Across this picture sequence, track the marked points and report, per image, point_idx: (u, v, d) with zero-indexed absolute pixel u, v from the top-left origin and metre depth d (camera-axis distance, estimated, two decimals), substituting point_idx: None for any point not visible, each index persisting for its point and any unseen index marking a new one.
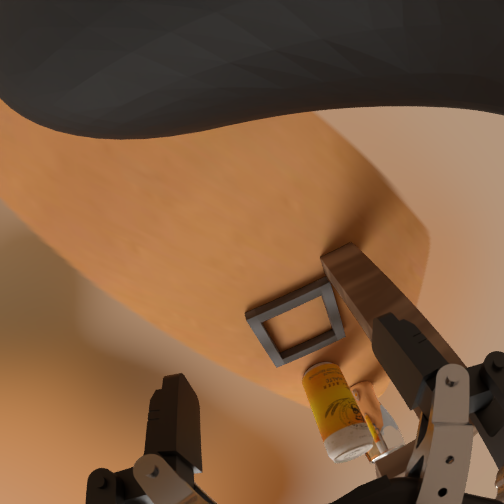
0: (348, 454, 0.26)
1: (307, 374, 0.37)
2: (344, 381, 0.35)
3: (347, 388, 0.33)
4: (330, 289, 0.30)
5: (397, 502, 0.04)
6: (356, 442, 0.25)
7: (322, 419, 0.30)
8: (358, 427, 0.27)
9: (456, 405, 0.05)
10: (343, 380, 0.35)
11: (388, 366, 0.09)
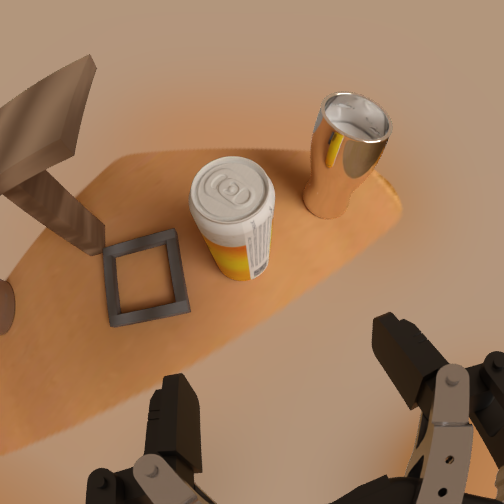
0: (223, 198, 0.18)
1: (223, 273, 0.31)
2: None
3: None
4: (109, 247, 0.32)
5: (397, 502, 0.04)
6: (190, 192, 0.19)
7: (214, 251, 0.23)
8: None
9: (456, 405, 0.05)
10: None
11: (388, 366, 0.09)
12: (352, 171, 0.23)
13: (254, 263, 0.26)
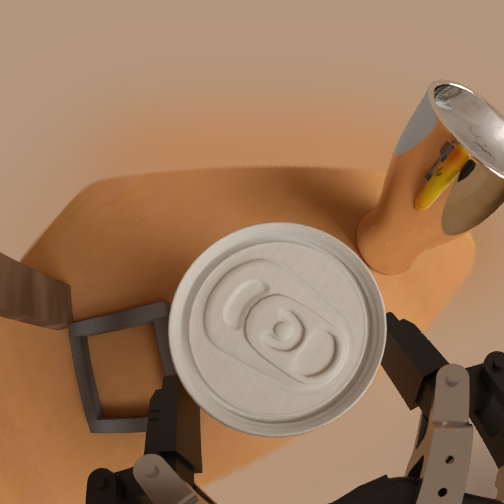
0: (262, 359, 0.06)
1: None
2: None
3: None
4: (76, 324, 0.20)
5: (397, 502, 0.04)
6: None
7: None
8: None
9: (456, 405, 0.05)
10: None
11: (388, 366, 0.09)
12: (468, 224, 0.11)
13: None
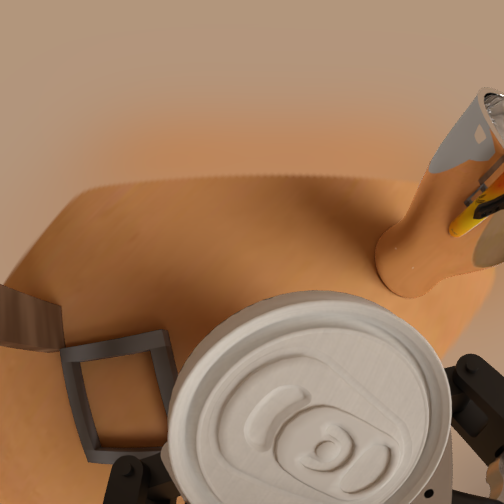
0: (297, 482, 0.04)
1: None
2: None
3: None
4: (67, 349, 0.18)
5: None
6: None
7: None
8: None
9: None
10: None
11: None
12: None
13: None
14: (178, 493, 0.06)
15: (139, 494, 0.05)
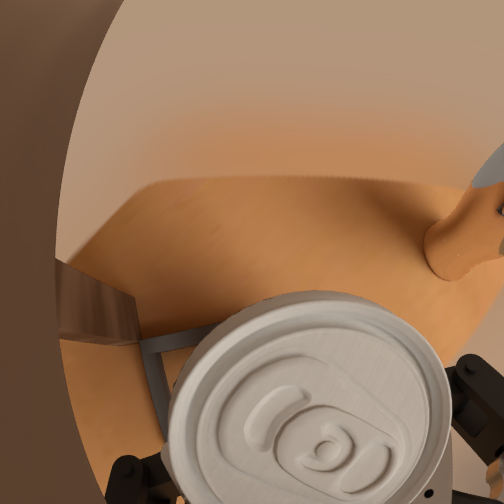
0: (297, 482, 0.04)
1: None
2: None
3: None
4: (150, 340, 0.20)
5: None
6: None
7: None
8: None
9: None
10: None
11: None
12: None
13: None
14: (178, 493, 0.06)
15: (139, 494, 0.05)
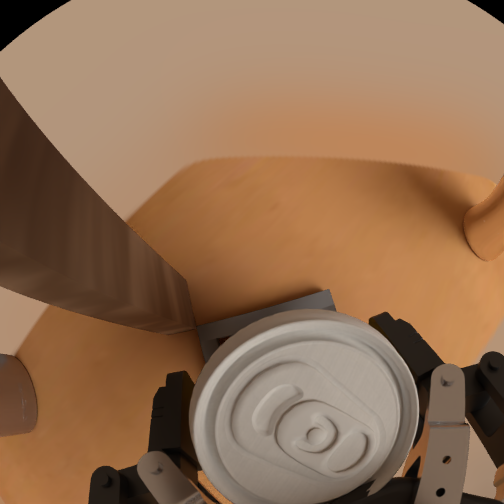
0: (293, 461, 0.05)
1: None
2: None
3: None
4: (210, 325, 0.19)
5: (395, 503, 0.04)
6: (191, 421, 0.06)
7: None
8: None
9: (452, 405, 0.05)
10: None
11: None
12: None
13: None
14: None
15: (119, 503, 0.05)
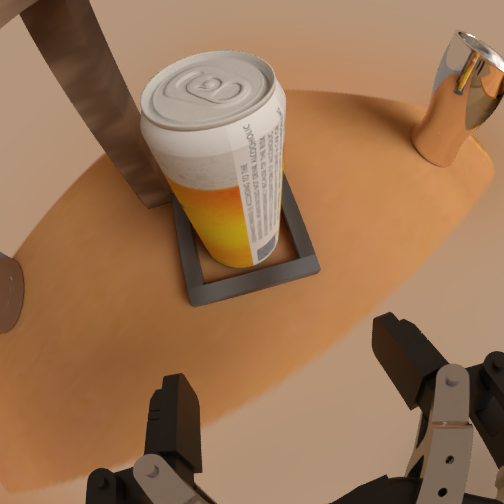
0: (193, 96, 0.09)
1: (214, 257, 0.21)
2: None
3: None
4: None
5: (397, 502, 0.04)
6: None
7: (190, 211, 0.14)
8: None
9: (456, 405, 0.05)
10: None
11: (388, 366, 0.09)
12: (488, 102, 0.14)
13: (257, 233, 0.16)
14: None
15: None
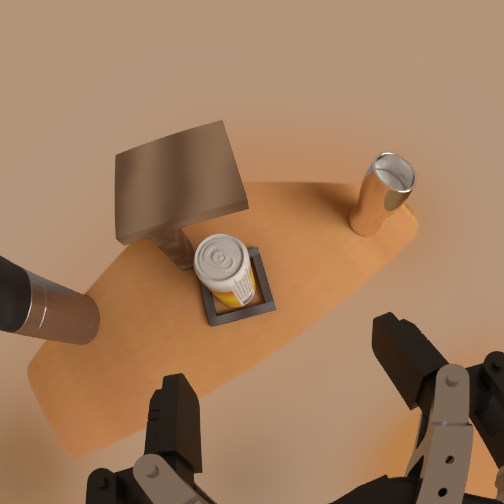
0: (215, 264, 0.29)
1: None
2: None
3: None
4: None
5: (397, 502, 0.04)
6: (194, 258, 0.30)
7: (213, 292, 0.34)
8: None
9: (456, 406, 0.05)
10: None
11: (388, 366, 0.09)
12: (390, 208, 0.34)
13: (241, 297, 0.36)
14: None
15: None
